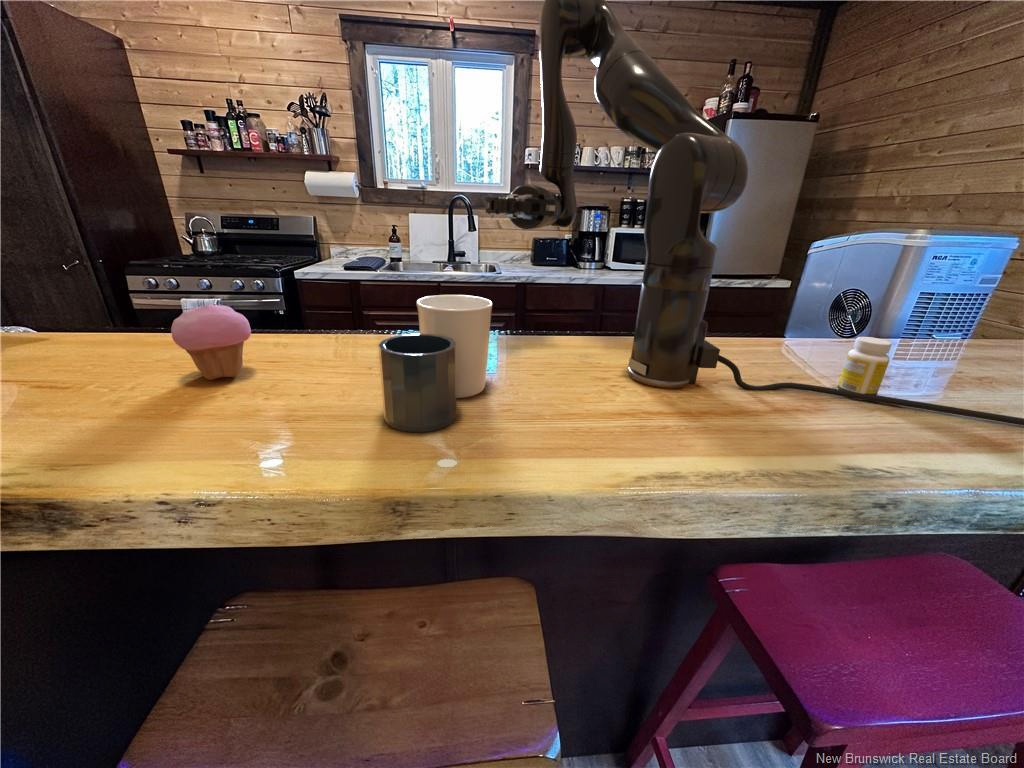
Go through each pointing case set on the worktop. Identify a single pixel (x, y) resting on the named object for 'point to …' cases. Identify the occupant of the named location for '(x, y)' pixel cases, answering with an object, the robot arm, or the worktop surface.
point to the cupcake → (213, 339)
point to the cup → (418, 381)
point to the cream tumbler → (461, 334)
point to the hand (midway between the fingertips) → (502, 205)
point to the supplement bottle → (865, 366)
